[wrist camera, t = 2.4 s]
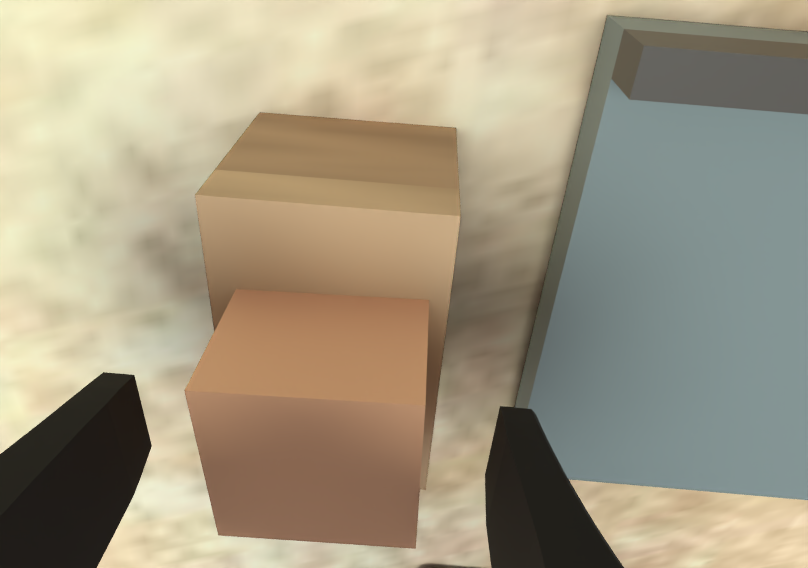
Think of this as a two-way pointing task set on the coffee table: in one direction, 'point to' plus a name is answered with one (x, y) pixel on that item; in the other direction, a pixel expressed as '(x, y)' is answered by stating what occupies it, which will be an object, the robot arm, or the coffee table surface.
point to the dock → (682, 267)
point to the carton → (314, 417)
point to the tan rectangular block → (337, 219)
